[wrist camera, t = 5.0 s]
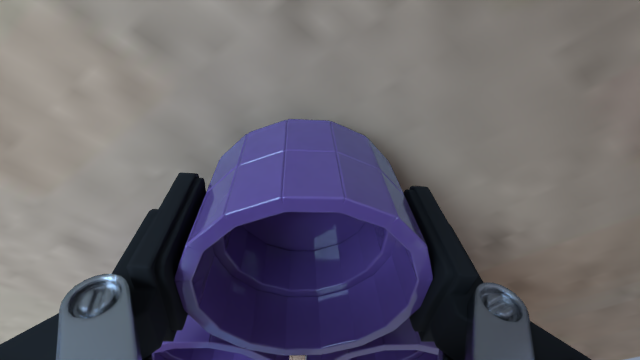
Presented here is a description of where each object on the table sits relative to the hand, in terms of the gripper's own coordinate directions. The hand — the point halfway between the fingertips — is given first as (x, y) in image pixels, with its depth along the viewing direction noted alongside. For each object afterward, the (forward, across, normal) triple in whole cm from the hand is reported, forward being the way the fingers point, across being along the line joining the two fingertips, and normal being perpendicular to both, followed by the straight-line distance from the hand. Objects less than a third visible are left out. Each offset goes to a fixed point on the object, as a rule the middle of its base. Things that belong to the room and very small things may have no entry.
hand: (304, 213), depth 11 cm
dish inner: (+1, 0, 0) cm, 1 cm away
